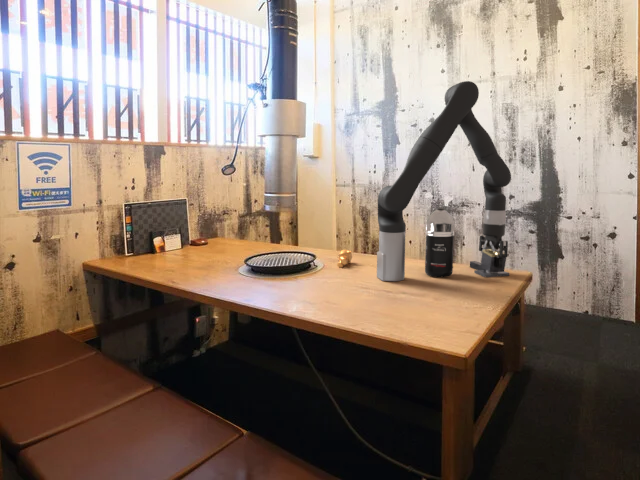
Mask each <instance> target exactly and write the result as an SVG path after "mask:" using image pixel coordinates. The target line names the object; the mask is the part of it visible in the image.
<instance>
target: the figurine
mask: <svg viewBox="0 0 640 480" xmlns="http://www.w3.org/2000/svg"><path fill="white" fill-rule="evenodd" d="M352 252H353V250H349V249H347V248H346V249H342V250H340V251H339V253H338V254H337V255H338V256H337V259H338V262H337V263H336V266H337V267H338V268H339V269H342V268H343V267H344V266H345V265H347V266H348V265H349V263H352V259H353V253H352Z"/></svg>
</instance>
